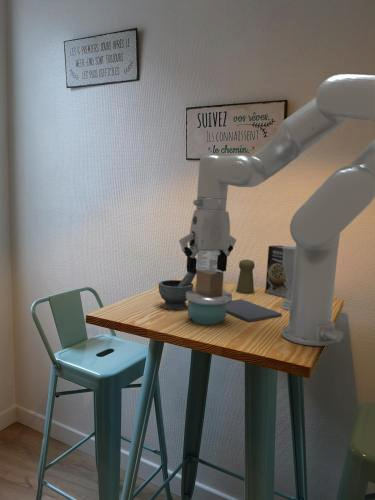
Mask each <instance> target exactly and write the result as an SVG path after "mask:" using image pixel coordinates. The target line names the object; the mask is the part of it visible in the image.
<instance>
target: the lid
mask: <svg viewBox="0 0 375 500" xmlns="http://www.w3.org/2000/svg"><path fill="white" fill-rule="evenodd" d="M196 275H197V280H196V279H195V280H196V281H195V289H193V290H190V291H188V292H186V300H187V301H189V302H192V303H196V304H202V305H223V304H228V303H230V302H231V301H232V300H233V295H232V294H231V293H230V292H227V291H224V290H223V287H224V285H223V284H224V276H223V273H221V272H217V271H214V270H210V269H205V270H197V274H196Z"/></svg>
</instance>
